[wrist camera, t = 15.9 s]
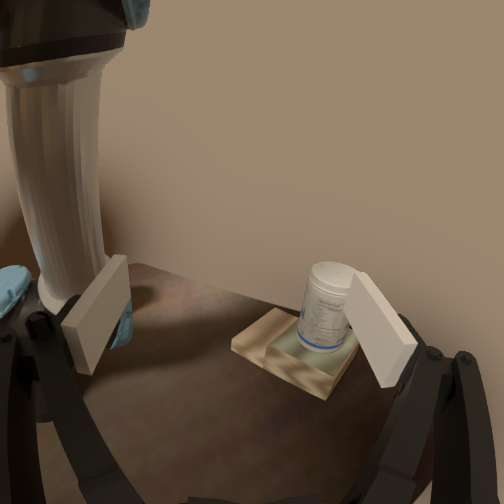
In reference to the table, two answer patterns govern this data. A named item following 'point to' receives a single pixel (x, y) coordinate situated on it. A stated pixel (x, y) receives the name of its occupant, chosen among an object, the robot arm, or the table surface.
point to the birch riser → (294, 353)
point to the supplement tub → (325, 307)
